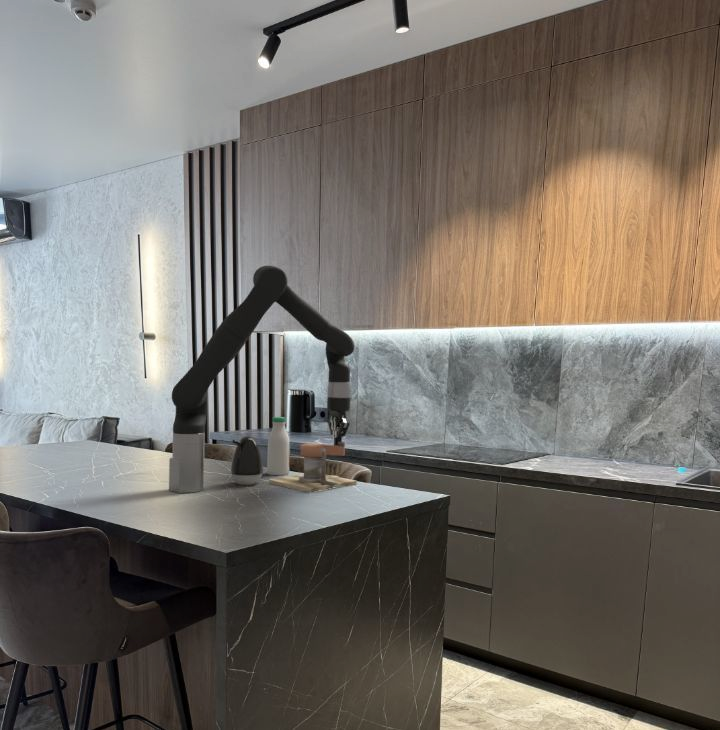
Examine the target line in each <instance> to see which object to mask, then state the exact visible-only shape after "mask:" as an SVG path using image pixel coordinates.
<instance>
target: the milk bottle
mask: <svg viewBox="0 0 720 730" xmlns="http://www.w3.org/2000/svg"><path fill="white" fill-rule="evenodd" d="M286 421H287V420H286V417H284V416H273V417H272V425H273V426H272V429H271V431H270V433H269V435H268V438H267V439H268V440H267V460H266V463H267V466H266V468H267V469H266V473H267V475H269V476H286V475H289V474H290V458H291V457H290V451H291V449H290V448H291V446H290V437H289V434H288V432H287V429H286Z"/></svg>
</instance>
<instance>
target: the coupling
mask: <svg viewBox="0 0 720 730" xmlns="http://www.w3.org/2000/svg"><path fill="white" fill-rule="evenodd" d="M345 446H346V442H345V441H342V442H338V445H334V444H324V443H302V444H300V451H299V452H300V456H302V457H304V456H306V457H322V448H326V456H343V457H344V456H345V453H346V447H345Z"/></svg>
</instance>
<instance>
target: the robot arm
mask: <svg viewBox="0 0 720 730" xmlns="http://www.w3.org/2000/svg"><path fill="white" fill-rule="evenodd" d="M252 282H253V287H252V288H251V290H250V291H249V294H248V295H247V296H246V297H245V299H244V300H242V302H241V303H240V304H239V305H238V306H237V307H236V308H234V310H232V311H231V312H230V313H229V314H228V315H226V317H225V318H224V320H223V321H222V322H221V323H220V325H219V326H218V327H217V328H216V330H214V331H215V332H213V334H212V336H211V337H210V339H209V340H208V342H207V343H206V345H205V346H204V348H203V349H202V351H201V353H200V355H199V356H198V358H197V360H196V361H195V362H194V363H193V364H192V366H191V367H190V368H189V369H188V371H187V372H185V374H184V375H183V377H181V378H180V379H179V381H177V383H176V384H175V385H174V387H173V389H172V392H171V400H172V403H173V405H174V406H175V417H174V422H173V423H172V453H171V454H172V457H170V458H169V465H168V467H169V469H168V471H169V473H168V490H169V491H171V492H174V493H177V494H182V493H184V494H185V493H196V492H201V491H203V490H204V489H205V488H204V484H205V481H204V480H205V437H206V436H205V434H206V433H205V432H206V422H207V411H208V410H207V408H208V407H207V406H208V393H207V392H208V389H210V388H209V387H210V386H211V385H212V383H213V381H214V380H215V379H216V377H217V376H218V374H220V373H221V372H222V371H223V370H224V369H225V368H226V367H227V366H228V365H229V364H230V363H232V361H233V359H234V358H236V356H237V354H239V353H240V351H241V349H242V348H243V347H244V345H245V344H246V343H247V341H248V340H249V338H250V337H251V335H252V334H253V332H254V331H255V329H256V328H257V326H258V325H259V323H260V322H261V320H262V318H264V316H265V314H266V313H267V312H268V310H269V309H270V308H271V307H272V306H273V305H274V303H277V305H279V306H280V307H282V308H283V310H285V311H287V313H288V314H290V316H292V318H294V320H296V321H297V322H298V323H299V325H301V326H302V327H303V328H304V329H305V330H306V331H307V332H308V333H310V334H311V336H313V337H314V338H315V339H317V340H318V341H321V342H324V343H326V344H325V356H326V361H327V366H328V384H327V390H326V393H327V396H326V397H327V399H326V400H327V401H326V409H327V411H331V413H330V418H328V419H327V423H328V424H327V425H328V428H329V433H330V435H332V438H333V445H338V442H343V440H342V439H343V438H344V437H346V435H347V432H348V430H349V427H350V422H349V421H347V413H346V412H349V411H350V410H351V368H350V366H349V365H348V364H346V358H345V357H349V356H351V355H352V354H353V353H354V351H355V346H356V345H355V342H354V340H353V338H352V336H350V335H349V334H348V333H347V332H346V331H344V330H343V329H341V328H339V327H338V326H337V325H335V324H333V323H332V322H331V321H330V320H329V319H328V318H327V317H326V316H325V315H323V314H322V313H321V311H320V310H318V309H317V308H316V307H314V306H313V305H311V304H310V303H309V302H308V301H306V300H305V299H304V298H302V297H301V296H300V295H299V294H297V293H296V292H295V290H294V289H292V288H291V286H290V285H289V284H288V276H287V274H286V271H284V269H282V268H280V267H278V266H274V265H263V266H260V267H259V268H257V269H256V270H255V271H254V274H253V278H252Z"/></svg>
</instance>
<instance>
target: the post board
mask: <svg viewBox="0 0 720 730" xmlns="http://www.w3.org/2000/svg"><path fill="white" fill-rule="evenodd" d="M326 470H327V455H326V448H322V457H306V456H303V474H299V475H289V476H284V477H277V478H270V479H268V483H269V484H271V485H276V486H279V487H283V488H288V489H291V490H292V489H293V490H297V491H301V492H305V491H306V493H309V492H311V493H315V492H314V491H317V492H320V491H319V490H323V491H325V490H324V489H328V490H330V489H329V488H333V487H340V486H345V487H350V486H349V485H351V486H355V485H354V484H358V480H354V479H350V478H344V477H341V476H338V475H329V474H326V473H327V472H326ZM340 488H341V487H340Z"/></svg>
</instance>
